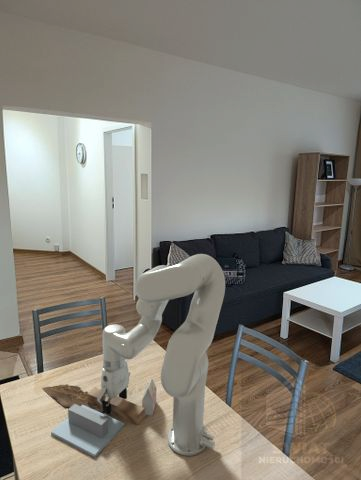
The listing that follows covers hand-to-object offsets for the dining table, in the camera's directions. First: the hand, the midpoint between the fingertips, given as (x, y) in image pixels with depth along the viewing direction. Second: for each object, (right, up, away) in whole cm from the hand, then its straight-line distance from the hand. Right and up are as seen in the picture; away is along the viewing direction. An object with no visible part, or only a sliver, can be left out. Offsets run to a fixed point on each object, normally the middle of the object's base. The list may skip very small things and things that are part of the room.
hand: (115, 405), depth 115 cm
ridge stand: (-7, -4, -9) cm, 12 cm away
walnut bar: (0, -2, 0) cm, 2 cm away
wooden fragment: (-18, -1, +7) cm, 19 cm away
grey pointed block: (+12, -2, +2) cm, 12 cm away
